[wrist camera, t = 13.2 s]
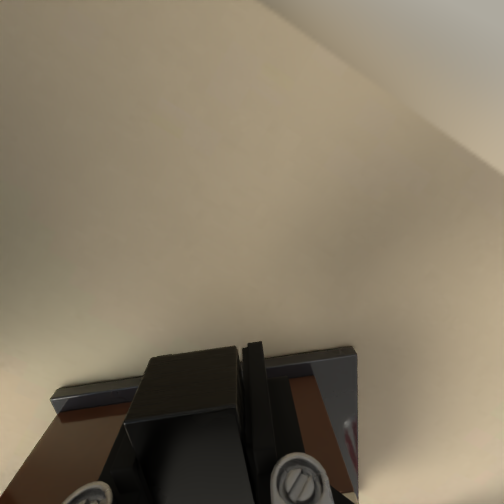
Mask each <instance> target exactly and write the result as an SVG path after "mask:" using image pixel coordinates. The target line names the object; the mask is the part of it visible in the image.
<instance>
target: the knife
mask: <svg viewBox="0 0 504 504" xmlns="http://www.w3.org/2000/svg"><path fill="white" fill-rule="evenodd" d="M124 427H125V429H126V432H127V434H128V437H129V439H130V442H131V444H132V447H133V449H134V452H135V455H136V457H137V460H138V462H139V465H140V467H141V470H142V472H143V475H144V477H145V480H146V482H147V485H148V487H149V490H150V493H151V495H152V498H153V500H154V503H155V504H257V500H256V495H255V490H254V485H253V480H252V475H251V470H250V465H249V460H248V454H247V445H246V420H245V388H244V382H243V377H242V371H241V366H240V361H239V355H238V350H237V347H236V346H229V347H222V348H215V349H208V350H201V351H194V352H187V353H180V354H173V355H166V356H159V357H153V358H151V359H150V361H149V363H148V365H147V368H146V370H145V372H144V375H143V377H142V379H141V382H140V384H139V386H138V389H137V391H136V393H135V396H134V398H133V400H132V403H131V405H130V407H129V410H128V412H127V414H126V417H125V419H124Z"/></svg>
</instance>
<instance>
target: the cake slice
mask: <svg viewBox="0 0 504 504" xmlns="http://www.w3.org/2000/svg"><path fill="white" fill-rule="evenodd" d="M289 382H290V387H291V391H292V396H293V400H294V404H295V409H296V413H297V418H298V422H299V427H300V431H301V435H302V440H303V444H304V449H305V453H306V454H308V455H310V456H312V457H314V458H315V459H316V460H317V461H319V462H320V464H321V465H322V467H323V468H324V469H325V471H326V474H327V477H328V479H329V483H330V485H331V486H332V487H333V488H335V489H336V490H337V491H339V492H340V493H341V494H343V495H344V496H345V497H347V498H348V499H349V500H351V501H352V502H353V503H355V504H359V503H358V500H357V497H356V494H355V493H354V488H353V485H352V483H351V480H350V477H349V474H348V471H347V468H346V465H345V462H344V460H343V457H342V454H341V451H340V448H339V445H338V442H337V439H336V436H335V434H334V431H333V428H332V425H331V422H330V419H329V416H328V413H327V411H326V408H325V405H324V402H323V399H322V396H321V393H320V390H319V388H318V385H317V382H316V379H315V376H314V375H312V376H305V377H298V378H291V379H289Z"/></svg>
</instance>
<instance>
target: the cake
mask: <svg viewBox="0 0 504 504" xmlns="http://www.w3.org/2000/svg"><path fill="white" fill-rule="evenodd" d="M264 360H265V366H266V373H267V379H268V378H275V377H282V376H288V378H289V379H291V378H298V377H305V376H312V375H314V376H315V379H316V382H317V385H318V388H319V390H320V393H321V396H322V399H323V402H324V405H325V408H326V411H327V413H328V416H329V419H330V422H331V425H332V428H333V431H334V434H335V436H336V439H337V442H338V445H339V448H340V451H341V454H342V457H343V460H344V462H345V465H346V468H347V471H348V474H349V477H350V480H351V483H352V485H353V488H354V493H355V494H356V497H357V500H358V385H357V353H356V352H355V350H354V348H353V347H352V346H350V347H343V348H336V349H329V350H322V351H315V352H309V353H302V354H295V355H288V356H281V357H274V358H267V359H264ZM240 366H241V371H242V377H243V362H240ZM141 379H142V377H136V378H130V379H123V380H116V381H109V382H102V383H95V384H88V385H81V386H75V387H68V388H61V389H57V390H56V392H55V393H54V394H53V395H52V397H51V398H50V401H51V403H52V405H53V407H54V409H55V411H56V413H57V416H56V417H55V418H54V420H53V421H52V423H51V424H50V426H49V427H48V429H47V430H46V431H45V433H44V434H43V436H42V437H41V439H40V440H39V442H38V443H37V444H36V446H35V447H34V449H33V450H32V452H31V453H30V455H29V456H28V457H27V459H26V460H25V462H24V463H23V465H22V466H21V468H20V469H19V471H18V472H17V473H16V475H15V476H14V478H13V479H12V481H11V482H10V484H9V485H8V486H7V488H6V489H5V491H4V492H3V494H2V495H1V497H0V504H62V503H63V502H64V500H65V499H66V498H67V497H68V496H70V495H71V494H72V493H73V492H74V491H75V490H77V489H78V488H80V487H82V486H83V485H85V484H88V483H91V482H94V481H98V479H99V477H100V474H101V472H102V470H103V467H104V465H105V463H106V460H107V458H108V456H109V453H110V451H111V449H112V447H113V444H114V442H115V440H116V437H117V435H118V433H119V430H120V428H121V426H122V423H123V421H124V419H125V416H126V414H127V412H128V409H129V407H130V405H131V403H132V400H133V398H134V396H135V393H136V391H137V389H138V386H139V384H140V382H141ZM358 503H359V500H358Z"/></svg>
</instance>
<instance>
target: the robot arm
mask: <svg viewBox="0 0 504 504" xmlns="http://www.w3.org/2000/svg"><path fill="white" fill-rule="evenodd" d="M242 354H243V382H244V388H245V420H246V445H247V454H248V460H249V465H250V470H251V475H252V480H253V485H254V490H255V495H256V500H257V504H355V503H353V502H352V501H351V500H349V499H348V498H347V497H345V496H344V495H343V494H341V493H340V492H339V491H337V490H336V489H335V488H333V487H332V486H331V485H330V483H329V479H328V477H327V474H326V471H325V469H324V468H323V467H322V465H321V464H320V462H319V461H317V460H316V459H315V458H314V457H312V456H310V455H308V454H306V453H305V449H304V444H303V440H302V435H301V431H300V427H299V422H298V418H297V413H296V409H295V404H294V400H293V396H292V391H291V387H290V382H289V378H288V376H282V377H275V378H268V379H267V373H266V366H265V360H264V353H263V346H262V341H259V342H252V343H248V347H246V348H242ZM170 355H172V354H170ZM163 356H166V355H163ZM157 357H159V356H157ZM128 410H129V409H128ZM125 417H126V416H125ZM62 504H155V503H154V500H153V498H152V495H151V493H150V490H149V487H148V485H147V482H146V480H145V477H144V475H143V472H142V470H141V467H140V465H139V462H138V460H137V457H136V455H135V452H134V449H133V447H132V444H131V442H130V439H129V437H128V434H127V432H126V429H125V427H124V421H123V423H122V426H121V428H120V430H119V433H118V435H117V437H116V440H115V442H114V444H113V447H112V449H111V451H110V453H109V456H108V458H107V460H106V463H105V465H104V467H103V470H102V472H101V474H100V477H99V479H98V481H94V482H91V483H88V484H85V485H83V486H82V487H80V488H78V489H77V490H75V491H74V492H73V493H72V494H71V495H70V496H68V497H67V498H66V499H65V500H64V502H63V503H62Z"/></svg>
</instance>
